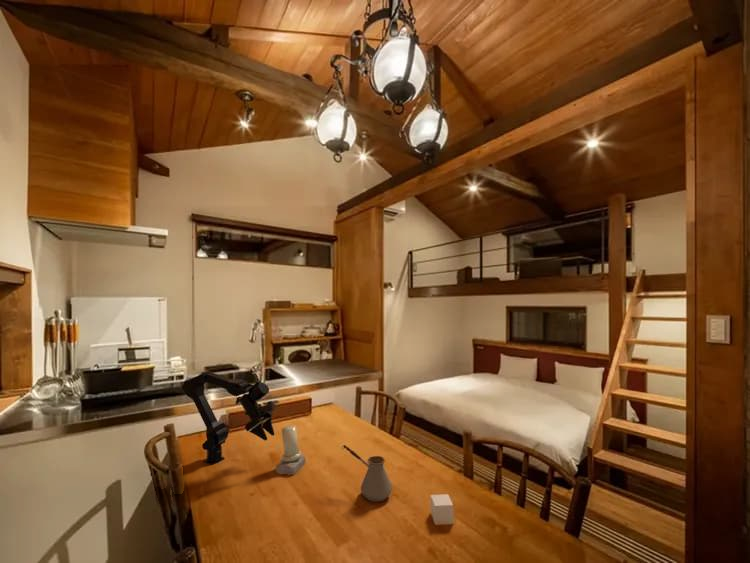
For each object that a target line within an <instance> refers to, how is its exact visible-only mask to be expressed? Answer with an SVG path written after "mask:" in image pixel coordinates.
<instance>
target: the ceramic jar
mask: <svg viewBox="0 0 750 563" xmlns="http://www.w3.org/2000/svg"><path fill="white" fill-rule="evenodd" d="M281 434H282V444H283V455H282V456H281V458H282V459H281V460H283V461H284V462H291V461H295V460H297V459H299V458H301V456H303V455H302V451H301V450H300V449H299V443H298V442H299V441H298V434H297V426H296V425H288V426H284V427H282V428H281Z"/></svg>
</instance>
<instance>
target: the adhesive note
mask: <svg viewBox="0 0 750 563" xmlns="http://www.w3.org/2000/svg"><path fill="white" fill-rule="evenodd" d="M430 514H431V518H432V520H433V522H434V525H436V526H437V525H438V526H439V525H441V526H442V525H454V504H453V502H452V500H451V498H450V496H449V494H448V493H445V494H430Z"/></svg>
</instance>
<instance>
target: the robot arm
mask: <svg viewBox="0 0 750 563" xmlns="http://www.w3.org/2000/svg"><path fill="white" fill-rule="evenodd" d="M206 383H208V384H209V385H210V384H211V385H213V386H216V387H219V388H221V389H224V390H226V392H227V393H228V394H230V395H231V396H233V397H236V399H235V400H236V401H235V405H238V404H240V405H241V407H242V408H243V409H244V411H245V413H244V415H245V416H248V418H249V419H250V420H249V421H248V422H247V423H246V424H245V426H244V429H245V431H246V432H249V433H250V434H253V435H254V436H257V437H259V438H260V439H261V440H263V441H265V442H266V441H267V440H269V439H268V436H267V434H266V432H267V433H268V434H270V435H271V436H274V435H275V431H274V427H273V423H272V422H273V418H274V413H273V412H274V411H275V410H276V404H275V402H274V401H272V400H270V401H267V403H266V404H265V405H262V404H261V403H259V402H258V401H260V400H261V399H263V398H264V397H266V395H268V394H269V393H270V388H269V385H267V384H266V383H265V382H262V380H257V381H256V382H255V384H252V383H249V382H248V380H245V379H238V378H237V379H236V378H234V379H233V378H229V377H226V376H223V375H220V374H217V373H215V372H213V371H210V370H207V371H206V370H205V371H203V372H201V373H199V374H198V375H196V376H194V377H193V378H189V379H187V380H184V381H183V383H182V386H181V389H182V391H183V392H184V394H185V395H186V397H188V398H190V399H191V400H192V401H193V403H194V406H195V407H196V409H197V411H198V413H199V416H200V418H201V419H202V422H203V423H204V426H205V427H206V428H205V429H206V430H205V436H206V440H205V441H204V442H203V443H202V444H201V445H202V446H201V447H202V450H204V451H206V458H204V459H203V462H205V463H206V464H209V465H214V464H217V463H218V462H221V461H223V460H225V457H224V456H223V455H222V454H223V448H222V447H223V446H222V445H223V444H225V443H226V441H227V439H228V438H229V437H228V436H229V429H228V427H227V425H226V422H224V421H223V422H219V421H218V419H217V417H216V416H215V413H214V411H213V409H212V407H211V405H210V403H209V401H208V399H207V397H206V395H205V384H206ZM241 395H242V396H241ZM265 431H266V432H265Z"/></svg>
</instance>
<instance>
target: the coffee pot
mask: <svg viewBox="0 0 750 563" xmlns="http://www.w3.org/2000/svg"><path fill="white" fill-rule="evenodd" d="M345 449H346V451H348V452H349V453H350V454H351V455H352V456H353V457H354V458H356V459H358V460H359V461H360V462H362V463H363V464H364V465H365V466H366V467H367V471H366V473H365V474H364V475H365V476H364V478H363V480H362V483H361V486H360V491H361V494H362V495H363V496H364V497H365V498H366V499H367V500H368V501H369V502H373V503H378V502H379V503H380V502H383V501H385V500H386V499H387V498H388V497H389V496H390V495H391V493H392V490H393V486H392V483H391V481H390V477H389V475H388V474H387V471H386V469H385V466H384V463H385V461H386V459H385V458H384V457H383V456H382V455H373V456H372V455H371V456H370V457H368V458H367V462H366V461H365V460H364V459H362V457H361V456H360V455H358V453H356V452H355V451H354V450H352V449H350V447H349V446H348V447H347V445H345V444H343V446H342V447H341V451H343V450H345Z"/></svg>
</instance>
